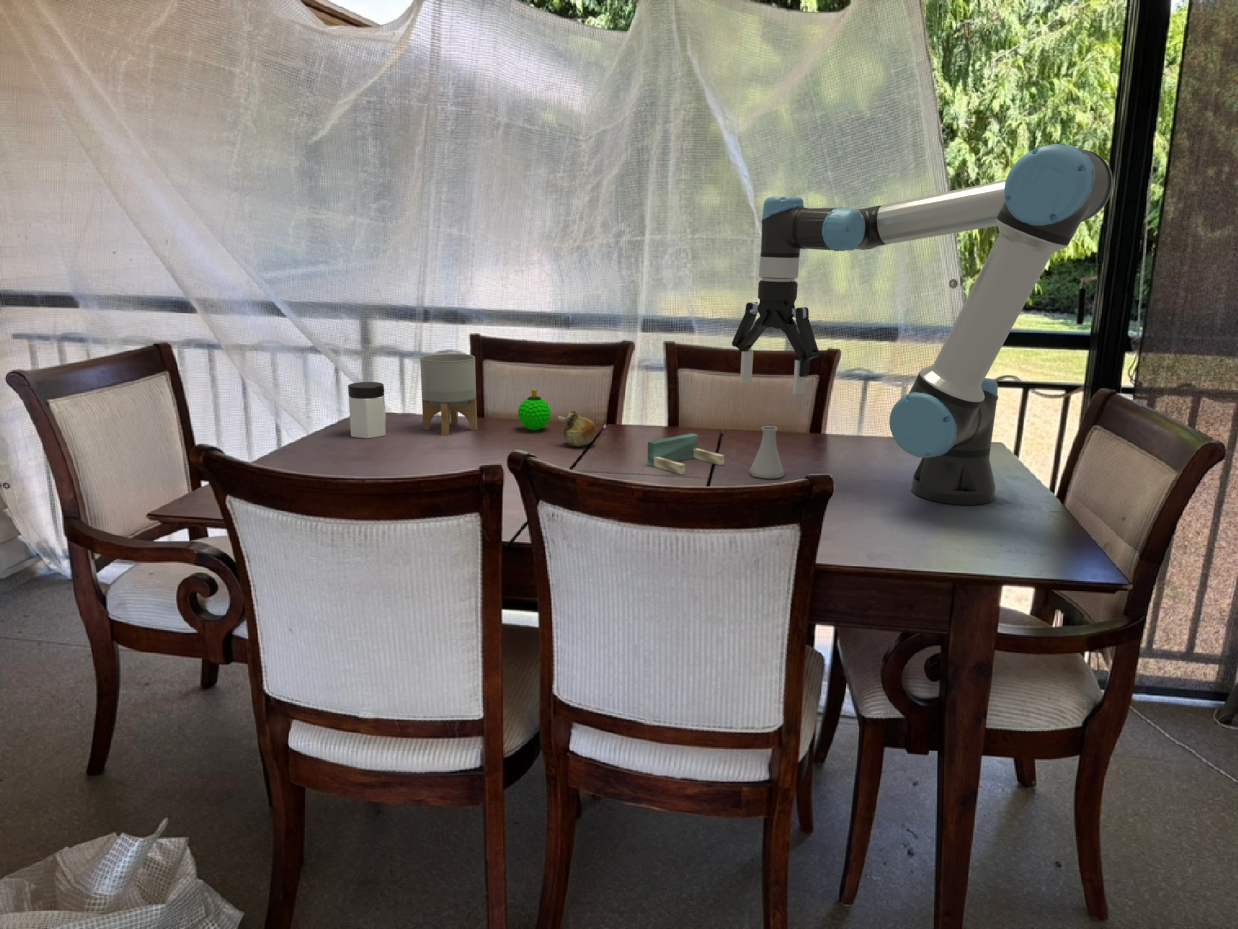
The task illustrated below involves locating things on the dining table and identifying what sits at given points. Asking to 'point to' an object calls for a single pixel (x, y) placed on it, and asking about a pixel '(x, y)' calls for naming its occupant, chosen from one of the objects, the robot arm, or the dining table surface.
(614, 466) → the dining table surface
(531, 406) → the ornament
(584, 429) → the onion
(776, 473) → the flask
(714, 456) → the pocket
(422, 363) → the planter
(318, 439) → the dining table surface
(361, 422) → the jar
